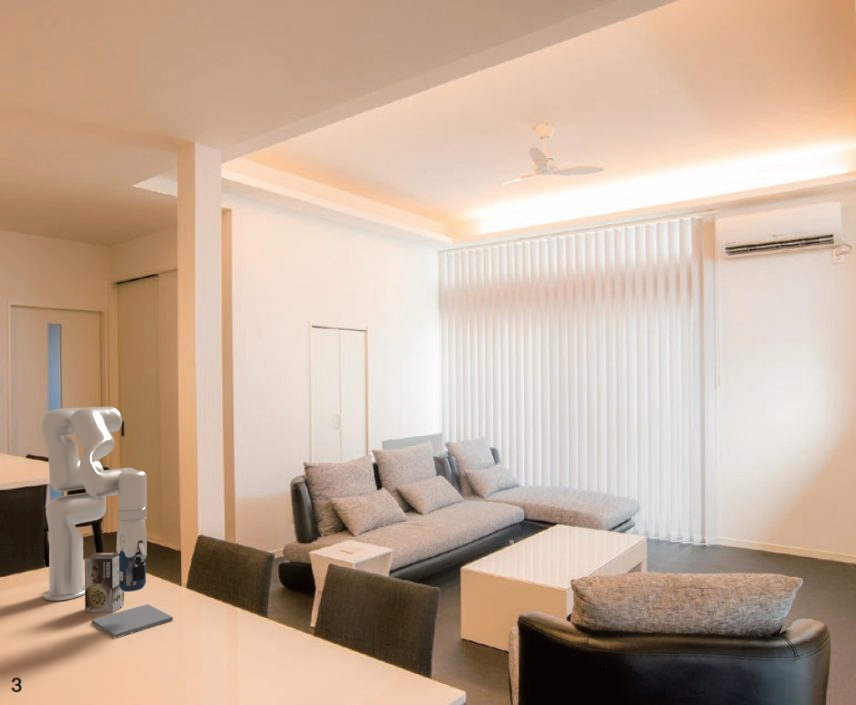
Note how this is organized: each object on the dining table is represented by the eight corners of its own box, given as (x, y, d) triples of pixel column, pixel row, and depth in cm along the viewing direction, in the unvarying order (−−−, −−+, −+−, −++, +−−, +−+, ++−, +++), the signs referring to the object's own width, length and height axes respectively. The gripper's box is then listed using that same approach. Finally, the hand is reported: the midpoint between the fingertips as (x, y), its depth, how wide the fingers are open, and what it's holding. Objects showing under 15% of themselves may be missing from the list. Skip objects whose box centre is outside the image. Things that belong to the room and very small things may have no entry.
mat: (91, 623, 182) (91, 619, 183) (147, 607, 194) (147, 604, 194) (115, 638, 172) (115, 634, 172) (172, 620, 184) (172, 617, 184)
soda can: (138, 583, 188) (138, 541, 189) (150, 587, 184) (150, 545, 184) (114, 589, 183) (114, 546, 183) (126, 594, 178) (126, 550, 179)
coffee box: (125, 605, 196) (125, 552, 197) (112, 613, 190) (112, 558, 191) (96, 604, 197) (97, 551, 198) (83, 612, 191) (83, 557, 191)
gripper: (106, 513, 187) (106, 574, 186) (132, 521, 175) (132, 587, 175) (132, 508, 193) (132, 568, 192) (159, 516, 181) (159, 580, 180)
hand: (132, 577), depth 183 cm, fingers closed on soda can, 6 cm apart
